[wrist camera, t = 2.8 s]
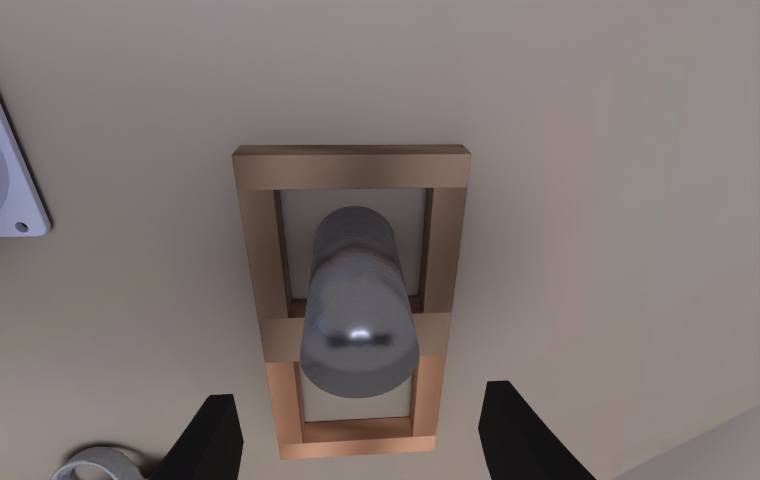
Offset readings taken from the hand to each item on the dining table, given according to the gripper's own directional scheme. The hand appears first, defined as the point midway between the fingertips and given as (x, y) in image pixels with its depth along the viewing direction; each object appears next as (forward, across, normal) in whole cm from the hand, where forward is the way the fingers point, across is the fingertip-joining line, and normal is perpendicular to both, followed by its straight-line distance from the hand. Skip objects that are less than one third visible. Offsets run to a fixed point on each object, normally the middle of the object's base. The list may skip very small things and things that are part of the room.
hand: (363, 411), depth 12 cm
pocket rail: (+10, 0, +5) cm, 11 cm away
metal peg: (+10, 0, 0) cm, 10 cm away
